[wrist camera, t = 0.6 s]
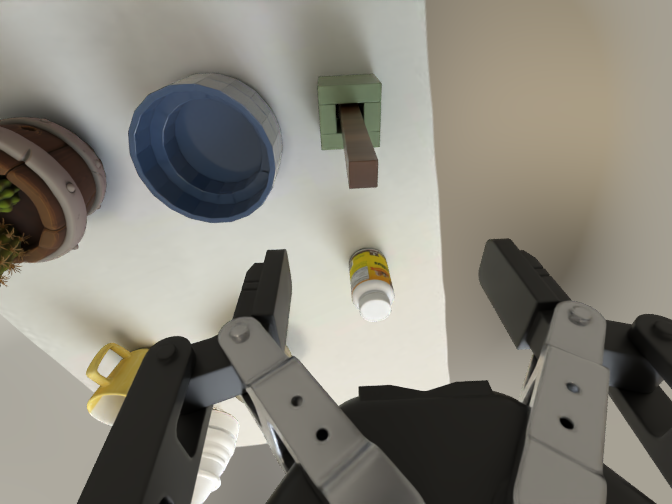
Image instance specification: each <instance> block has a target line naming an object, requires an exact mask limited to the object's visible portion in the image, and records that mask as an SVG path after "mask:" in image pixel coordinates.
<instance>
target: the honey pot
mask: <svg viewBox="0 0 672 504" xmlns="http://www.w3.org/2000/svg"><path fill="white" fill-rule="evenodd" d="M238 432H239V423H238V421H237V420H236V419H235V418H234V417H233V416H231V415H229V414H228V413H225V412H222V411H218V410H212V412H211V417H210V421H209V425H208V430H207V434H206V439H205V443H204V448H203V452H202V457H201V461H200V466H199V470H198V474H197V479H196V483H195V488H194V492H193V497H192V501H191V504H202V503H203V502H204V501H205V500H206V498H207V497H208V495H209V494H210V492H213V491H215V490H217V489H218V488H219V486H220V485H221V481H220V478H219V477H220V476H221V474H222V473H223V472H224V470H225V469H226V465H227V464H228V462H229V459H230V458H231V457H232V455H233V453H234V450H235V446H236V442H237V437H238Z"/></svg>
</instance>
